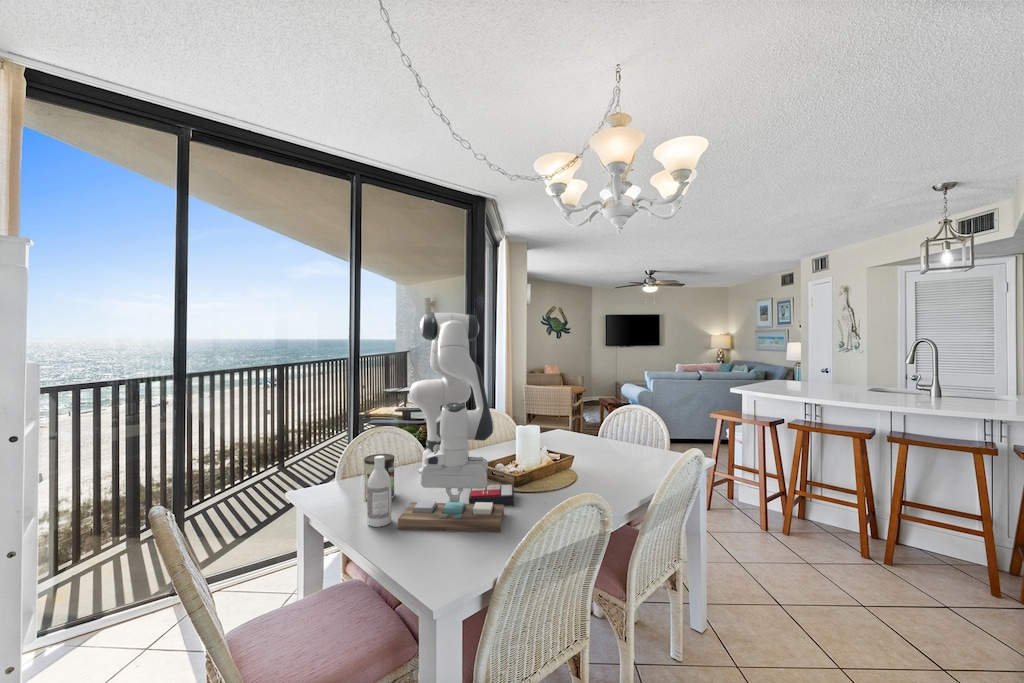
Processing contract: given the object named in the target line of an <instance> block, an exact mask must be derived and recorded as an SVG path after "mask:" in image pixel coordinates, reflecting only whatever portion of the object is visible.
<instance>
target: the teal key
mask: <svg viewBox="0 0 1024 683" xmlns="http://www.w3.org/2000/svg"><path fill="white" fill-rule="evenodd" d="M445 503H446V504H445V506H444V508H443V514H462V513H463V511H464V508H465V504H466V502H465V501H459V502H449V501H446V502H445Z"/></svg>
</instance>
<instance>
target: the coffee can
mask: <svg viewBox="0 0 1024 683" xmlns="http://www.w3.org/2000/svg"><path fill="white" fill-rule="evenodd" d="M376 456H384V457H385V466H384V468H385V470H386V471H387V472H388V474H389V476H390V478H391V498H392V499H394V497H395V455H393V454H390V453H376V454H371V455H367V456H365V457H363V461H364V463H363V466H364V468H363V469H364V470H363V472H364V479H363V480H364V481H363V482H364V483H363V484H364V493H363V494H364V497H363V498H365V500H367V485H368V480H369V477H370V475H371V474H372V472H373V471H374V469H375V468H374V458H375V457H376ZM365 500H364V501H365Z"/></svg>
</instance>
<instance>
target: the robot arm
mask: <svg viewBox="0 0 1024 683" xmlns="http://www.w3.org/2000/svg"><path fill="white" fill-rule="evenodd" d="M419 330H420V333H421V336H422V337H423V339H425V340H428V341H431V346H430V357H429V359H430V360H429V366H430V368H431V370H432V371H434V373H436V374H439V375H440V376H442V378H437V379H436V378H435V379H434V378H433V379H432V378H431V379H422V380H418V381H415V382H413V383H412V384H411V386H410V387H409V388H410V389H409V392H408V394H409V399H410V401H411V402H412V404H414V406H416V407H417V408H418V409H420V410H421V412H422V413H423V415H424V417H425V421H426V430H427V433H426V434H427V437H426V441H425V445H426V449H425V450H424V451H423V452H422V461H421V462H422V463H421V467H420V468H419V469H418V473H420V475H421V476H420V484H421V486H422V487H423V488H426V489H427V488H429V489H445V493H446V495H447V496H448V497H449V498H448V500H449V501H448V502H461V501H460V500H461V497H460V496H461V495H462V493H463V491H464V489H471V488H476V489H484V488H485V487H486V486H487V485H488V472H487V471H488V470H489V462H488V460H487V459H485V458H484V457H482V456H479V457H477V456H470V454H469V452H470V450H469V449H470V448H469V446H470V445H469V442H468V441H469V440H471V441H472V440H473V441H482V442H484V441H486V440H487V439H488V438H489V437H491V435H493V433H494V426H495V424H494V420H493V415H492V414H491V410H490V407H489V402H488V397H487V394H486V388H485V383H484V378H483V376H482V372H481V368H480V367H479V365H478V364H477V363H475V362H474V361H473V359H472V358H471V354H470V342H473V341H475V340H476V339H477V337H478V335H479V332H480V324H479V319H478V318H477V317H476V316H475V315H473V314H469V313H467V314H464V313H460V312H459V313H458V312H434V311H433V312H427V313H425V314H423V315H422V318H421V320H420V324H419ZM472 393H473V398H474V402H475V407H476V408H475V409H471V410H469V409H467V406H466V405H465V404H464V403H466V402H468V401H469V399H470V398H471V394H472ZM441 406H442V408H441ZM452 489H457V492H458V493H457V494H453V493H452V491H451V490H452Z"/></svg>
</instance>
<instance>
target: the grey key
mask: <svg viewBox="0 0 1024 683" xmlns="http://www.w3.org/2000/svg"><path fill="white" fill-rule="evenodd" d="M436 503H437V501H436V500H418V501H417V504H416V506H415V507H414V513H433V512H434V510H435V509H436Z"/></svg>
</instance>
